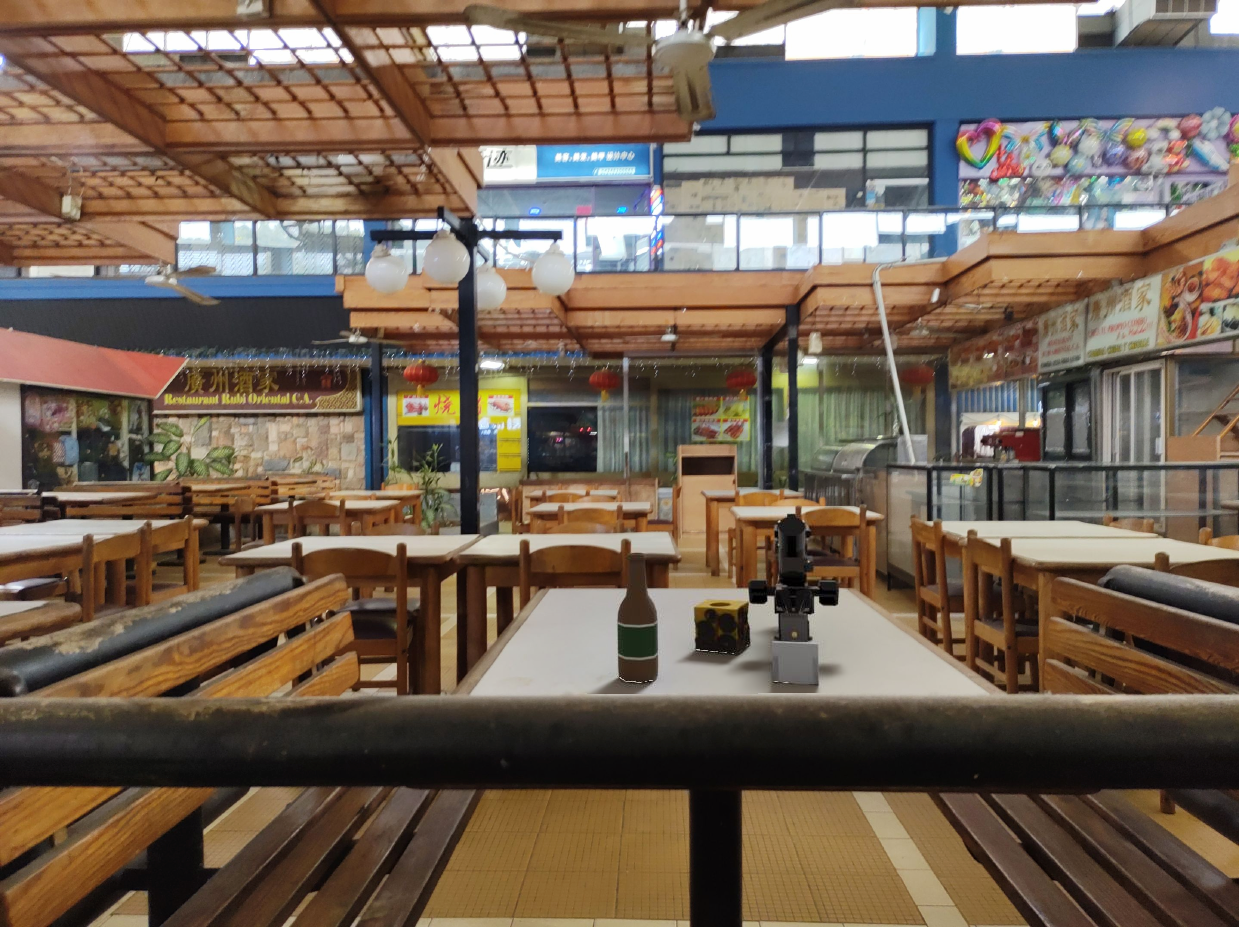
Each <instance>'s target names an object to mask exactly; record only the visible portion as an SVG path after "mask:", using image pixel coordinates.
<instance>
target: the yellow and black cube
mask: <svg viewBox="0 0 1239 927" xmlns="http://www.w3.org/2000/svg"><path fill="white" fill-rule="evenodd" d="M749 606H750V602H749V600H730V599H729V600H728V599H711V598H710V599H709V598H708V599H704V600H703V601H702V602H700V603H698V604H697V605H696V604H695V606H693V613H694V614H693V617H694V618H693V619H694V620H693V621H694V626H695V627H694V631H695V632H694V633H695V634H694V635H695V637H694V645H695V647H694V650H695V649H700V650H708V651H718V652H727V653H734V654H737V655H740V654H741V653H742V652H743V651H745V650H746V649H747V648H746V646H747V645H749V646H750V645H751V628H750V627H751V626H750V623H749V617H748V615H749ZM747 647H748V646H747ZM745 648H746V649H745ZM744 649H745V650H744ZM742 650H743V651H742ZM741 651H742V652H741ZM740 652H741V653H740ZM739 653H740V654H739ZM734 654H733V655H734Z"/></svg>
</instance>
